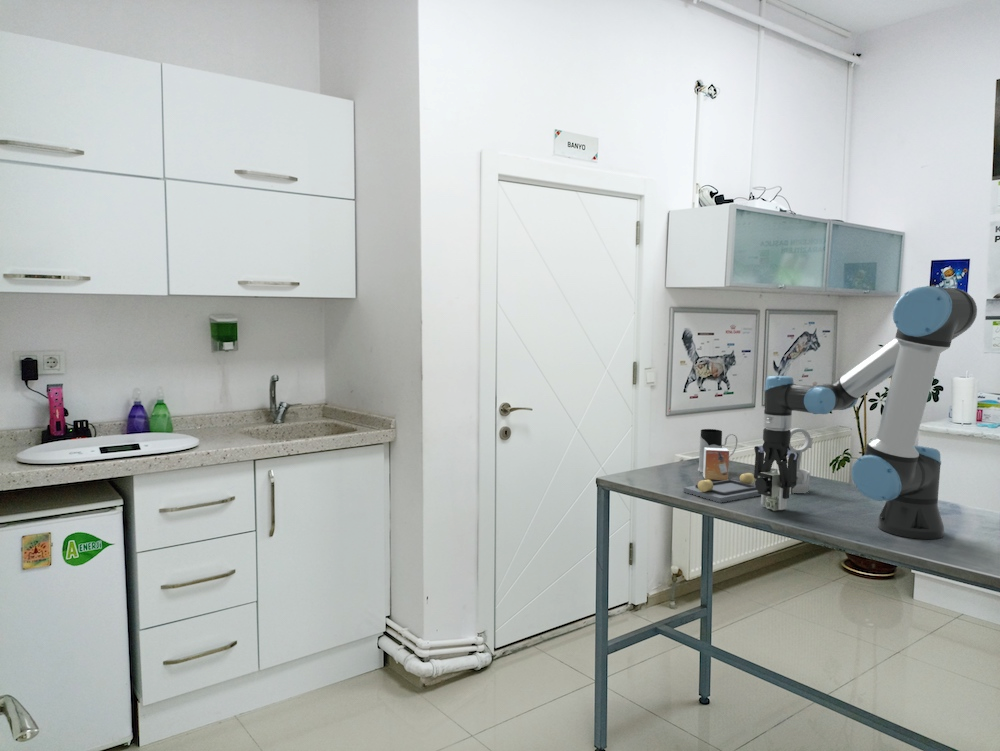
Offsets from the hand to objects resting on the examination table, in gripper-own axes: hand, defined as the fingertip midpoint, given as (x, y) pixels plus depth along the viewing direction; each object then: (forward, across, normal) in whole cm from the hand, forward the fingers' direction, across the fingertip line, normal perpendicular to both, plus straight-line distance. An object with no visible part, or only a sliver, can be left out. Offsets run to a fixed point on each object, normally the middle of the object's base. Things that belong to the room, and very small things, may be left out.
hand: (773, 506), depth 206 cm
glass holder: (+1, -44, +26) cm, 51 cm away
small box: (+1, -36, +16) cm, 39 cm away
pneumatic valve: (+1, 0, 0) cm, 1 cm away
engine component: (+1, -12, +26) cm, 29 cm away
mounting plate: (+1, -20, +3) cm, 20 cm away
